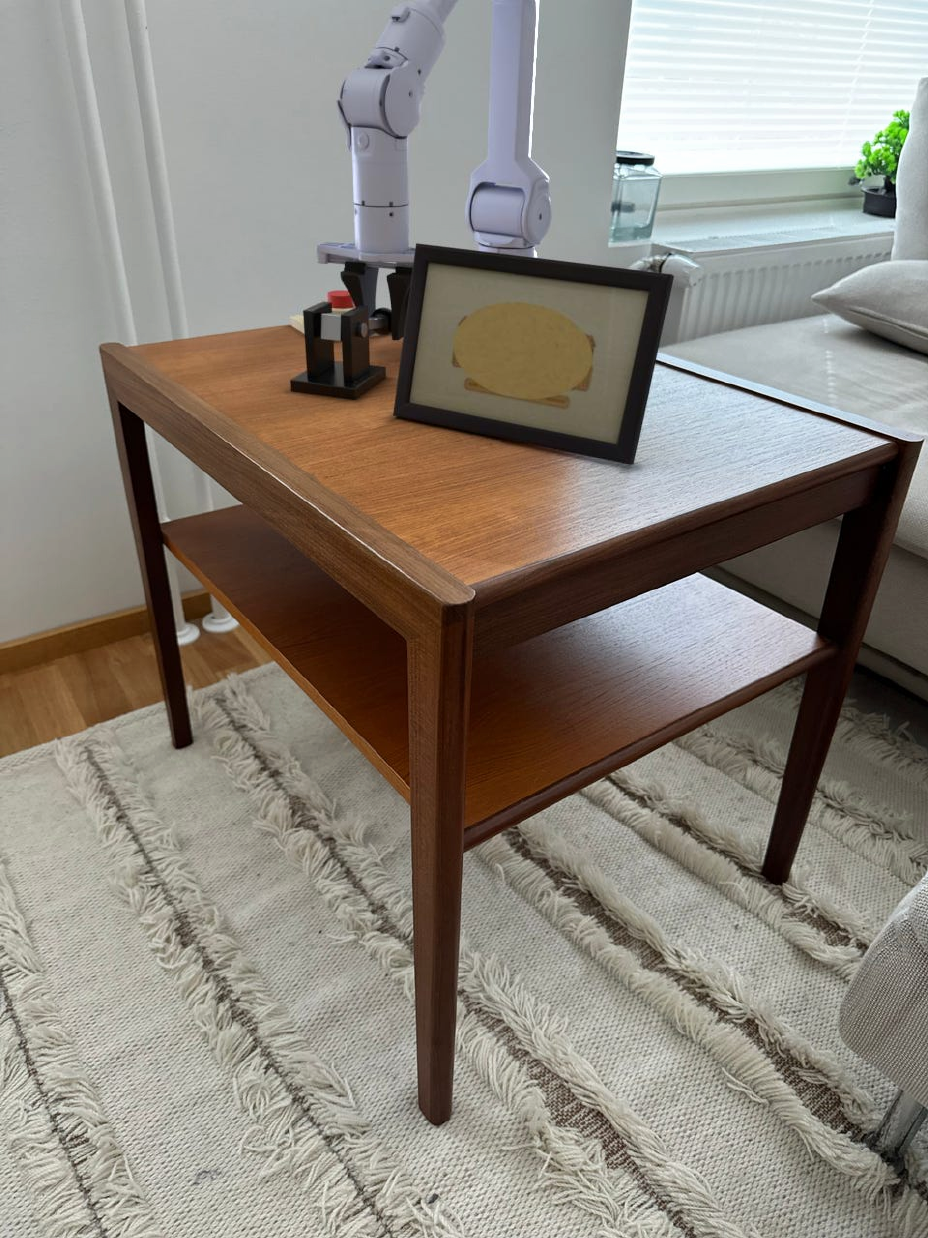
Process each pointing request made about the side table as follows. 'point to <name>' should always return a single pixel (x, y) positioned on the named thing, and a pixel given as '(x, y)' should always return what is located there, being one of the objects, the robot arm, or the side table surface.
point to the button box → (298, 320)
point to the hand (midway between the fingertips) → (383, 336)
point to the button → (340, 299)
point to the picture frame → (531, 349)
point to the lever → (377, 322)
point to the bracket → (321, 367)
